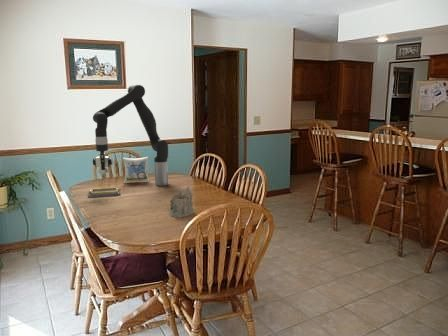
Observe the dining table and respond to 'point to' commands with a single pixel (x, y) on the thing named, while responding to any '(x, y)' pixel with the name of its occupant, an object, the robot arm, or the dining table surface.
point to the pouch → (136, 169)
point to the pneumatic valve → (98, 164)
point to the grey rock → (181, 204)
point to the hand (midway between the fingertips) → (103, 168)
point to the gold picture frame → (104, 192)
